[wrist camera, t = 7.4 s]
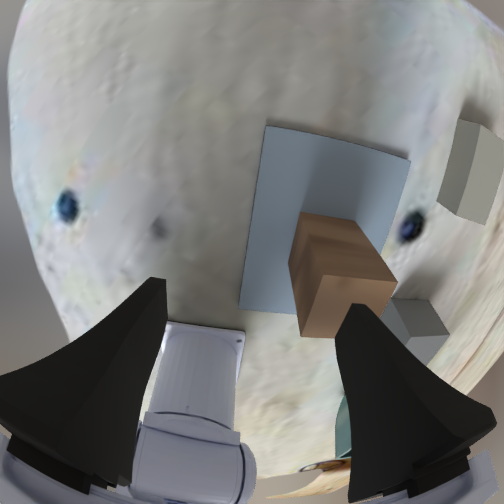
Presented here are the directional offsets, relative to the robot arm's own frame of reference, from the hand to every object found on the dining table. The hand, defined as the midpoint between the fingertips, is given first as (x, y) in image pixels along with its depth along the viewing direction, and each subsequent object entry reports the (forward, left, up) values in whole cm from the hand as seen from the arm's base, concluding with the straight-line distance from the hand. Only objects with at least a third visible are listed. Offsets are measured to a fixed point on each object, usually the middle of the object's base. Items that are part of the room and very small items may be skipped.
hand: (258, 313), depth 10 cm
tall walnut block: (-1, -5, -9) cm, 10 cm away
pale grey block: (+7, -16, -10) cm, 20 cm away
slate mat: (-1, -5, -9) cm, 11 cm away
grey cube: (-8, -16, -10) cm, 20 cm away
